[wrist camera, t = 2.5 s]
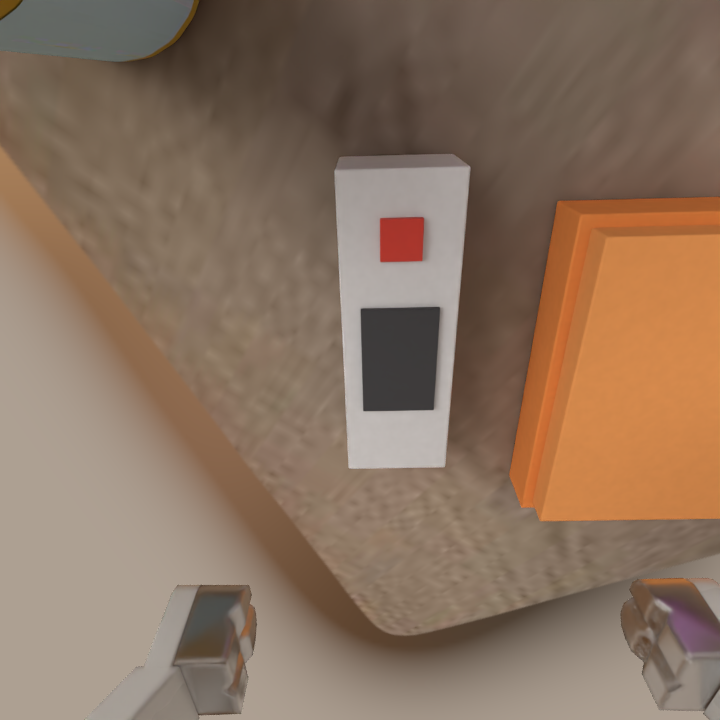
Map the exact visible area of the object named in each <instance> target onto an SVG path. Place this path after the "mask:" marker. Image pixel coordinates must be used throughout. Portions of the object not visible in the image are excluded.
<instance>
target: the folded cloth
mask: <svg viewBox="0 0 720 720" xmlns="http://www.w3.org/2000/svg"><path fill="white" fill-rule="evenodd" d="M509 476H510V478H511V481H512V483H513V486H514V489H515V491H516V494H517V497H518V499H519V502H520V505H521V507H523V508H525V507H535V509H536V512H537V514H538V517H539V519H540V521H589V520H657V519H720V197H692V198H652V199H612V200H572V201H558V203H557V208H556V213H555V219H554V225H553V230H552V236H551V242H550V247H549V253H548V259H547V264H546V270H545V276H544V281H543V287H542V293H541V298H540V304H539V310H538V315H537V321H536V327H535V332H534V338H533V344H532V349H531V355H530V361H529V366H528V372H527V378H526V383H525V389H524V395H523V400H522V406H521V412H520V417H519V423H518V429H517V434H516V440H515V446H514V451H513V457H512V463H511V468H510V474H509Z"/></svg>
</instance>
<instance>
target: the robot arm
mask: <svg viewBox="0 0 720 720" xmlns="http://www.w3.org/2000/svg"><path fill="white" fill-rule="evenodd" d="M629 590H630V592H631V594H632V596H633V597H632V598H630V599H629V600H627V601H626V602H625V603H624V605H623V608H622V610H621V626H622V629H623V633H624V636H625V639H626V641H627V643H628V645H629V648H630V650H631V651H632V652H633V653H634V654H635V655H636V656H637V657H639V658H640V659H641V660H642V661H643V662H644V665H643V671H642V675H643V677H644V679H645V681H646V683H647V686H648V688H649V690H650V692H651V694H652V696H653V698H654V700H655V702H656V704H657V706H658V708H659V710H674V711H676V710H677V711H705V712H704V713H703V714H704V715H705V716H706V717H707V718H708V719H709V720H720V585H719V584H718V583H717V582H716V581H714V580H713V579H709V578H691V579H684V578H667V579H637V580H636V581H634V582H633V583H632V585H631V587H630V589H629ZM251 595H252V594H251V591H250V587H249V585H177V587H176V588H175V589H174V591H173V592H172V594H171V596H170V599H169V602H168V604H167V607H166V609H165V612H164V615H163V617H162V620H161V623H160V625H159V628H158V631H157V633H156V636H155V638H154V641H153V644H152V646H151V649H150V652H149V654H148V657H147V660H146V662H145V665H144V666H143V667H142V666H141V667H136V668H135V669H134V670H133V671H132V672H131V673H130V674H129V675H128V676H127V677H126V678H125V679H124V680H123V681H122V682H121V683H120V684H119V685H118V686H117V687H116V688H115V689H114V690H113V691H112V692H111V693H110V694H109V695H108V696H107V697H106V698H105V699H104V700H103V701H102V702H101V703H100V704H99V705H98V706H97V707H96V708H95V709H94V710H93V711H92V712H91V713H90V714H89V715H88V716H87V717H86V718H85V719H84V720H199V716H198V715H220V714H241V712H242V707H243V702H244V697H245V692H246V687H247V682H248V675H247V670H246V667H245V663H246V662H247V661H248V660H249V658H250V657H251V656H252V655H253V651H254V645H255V638H256V626H257V623H256V612H255V608H254V607H253V606H252V605H251V604H250V600H251Z"/></svg>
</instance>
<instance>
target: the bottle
mask: <svg viewBox="0 0 720 720" xmlns="http://www.w3.org/2000/svg"><path fill="white" fill-rule="evenodd" d="M198 3H199V0H0V50H1V51H11V52H21V53H31V54H41V55H51V56H61V57H72V58H82V59H92V60H102V61H112V62H122V61H124V62H129V61H134V60H140V59H145V58H150V57H152V56H155V55H157V54H158V53H160V52H161V51H163V50H164V49H166V48H167V47H169V46H170V45H172V44H174V43H175V42H176V41H177V40H178V39H179V38H180V36H181V35H182V33H183V32H184V30H185V29H186V27H187V26H188V25H189V23H190V22H191V20H192V19H193V16H194V14H195V12H196V10H197V6H198Z"/></svg>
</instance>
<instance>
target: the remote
mask: <svg viewBox="0 0 720 720" xmlns="http://www.w3.org/2000/svg"><path fill="white" fill-rule="evenodd" d="M470 170H471V168H470V166H469V165H467V164H466V163H465V162H463V161H462V160H461V159H459V158H458V157H457V156H455V155H454V154H421V155H383V156H346V157H339V159H338V162H337V165H336V168H335V171H334V177H335V197H336V218H337V238H338V258H339V279H340V299H341V320H342V340H343V360H344V381H345V401H346V422H347V442H348V463H349V468H350V469H366V468H427V467H445V463H446V451H447V439H448V428H449V416H450V404H451V393H452V381H453V369H454V357H455V346H456V334H457V322H458V310H459V299H460V287H461V275H462V263H463V252H464V240H465V228H466V217H467V205H468V193H469V181H470Z"/></svg>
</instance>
